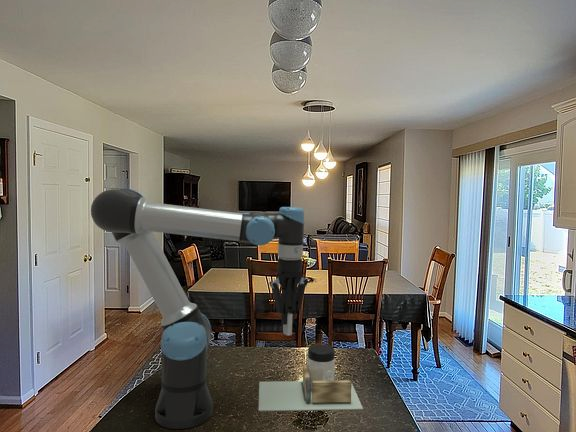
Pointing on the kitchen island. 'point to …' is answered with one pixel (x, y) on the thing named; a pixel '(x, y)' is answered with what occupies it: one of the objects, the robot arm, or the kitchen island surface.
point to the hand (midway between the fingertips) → (287, 333)
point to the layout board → (297, 398)
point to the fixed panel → (331, 391)
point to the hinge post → (308, 390)
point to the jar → (321, 363)
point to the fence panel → (305, 376)
